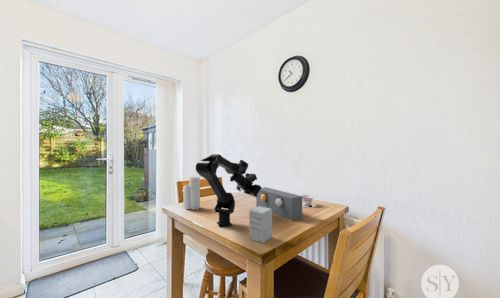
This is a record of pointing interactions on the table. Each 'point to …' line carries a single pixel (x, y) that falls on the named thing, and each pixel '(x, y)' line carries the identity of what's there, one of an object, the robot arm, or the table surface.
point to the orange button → (263, 197)
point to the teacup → (307, 201)
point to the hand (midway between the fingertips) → (256, 196)
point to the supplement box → (260, 224)
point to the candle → (192, 194)
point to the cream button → (279, 202)
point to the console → (290, 203)
